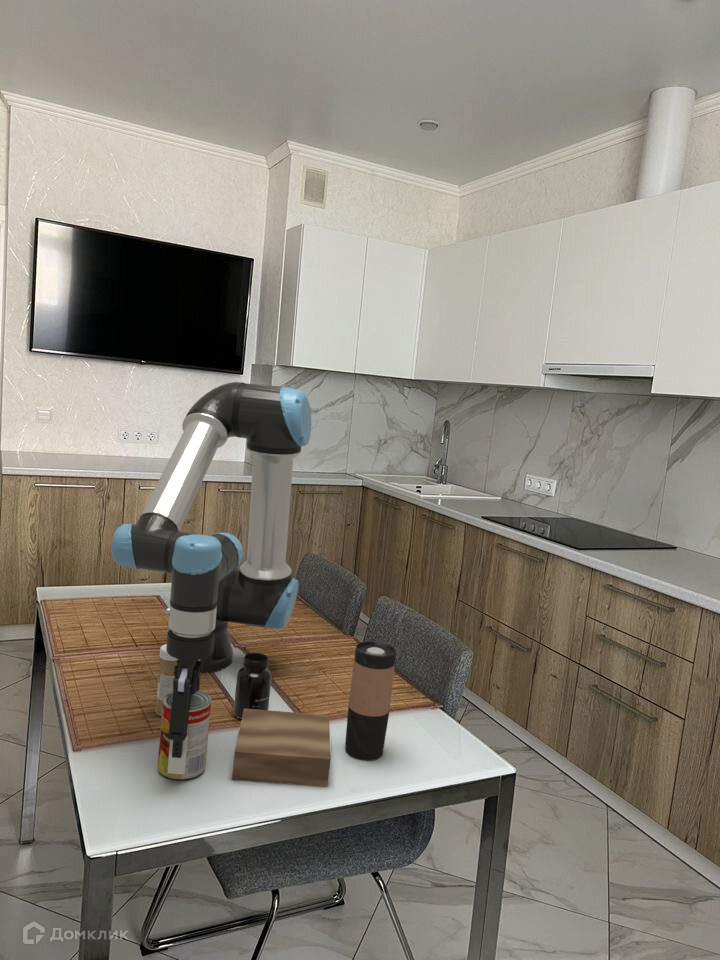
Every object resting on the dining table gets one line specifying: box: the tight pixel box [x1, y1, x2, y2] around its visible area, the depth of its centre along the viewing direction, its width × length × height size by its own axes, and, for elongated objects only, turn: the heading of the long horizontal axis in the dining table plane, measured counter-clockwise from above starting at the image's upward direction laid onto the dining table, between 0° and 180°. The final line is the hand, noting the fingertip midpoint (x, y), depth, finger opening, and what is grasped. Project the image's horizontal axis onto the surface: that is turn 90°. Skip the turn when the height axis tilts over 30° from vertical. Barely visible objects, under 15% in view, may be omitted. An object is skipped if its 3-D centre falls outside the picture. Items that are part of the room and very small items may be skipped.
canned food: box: [157, 690, 212, 780], centre depth 124 cm, size 8×8×12 cm
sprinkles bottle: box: [154, 643, 178, 717], centre depth 143 cm, size 5×5×14 cm
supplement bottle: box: [232, 652, 272, 720], centre depth 147 cm, size 7×7×12 cm
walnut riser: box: [231, 709, 332, 787], centre depth 132 cm, size 16×16×5 cm
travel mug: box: [344, 640, 397, 761], centre depth 137 cm, size 8×8×20 cm
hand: (181, 758), depth 125 cm, fingers closed on canned food, 8 cm apart
